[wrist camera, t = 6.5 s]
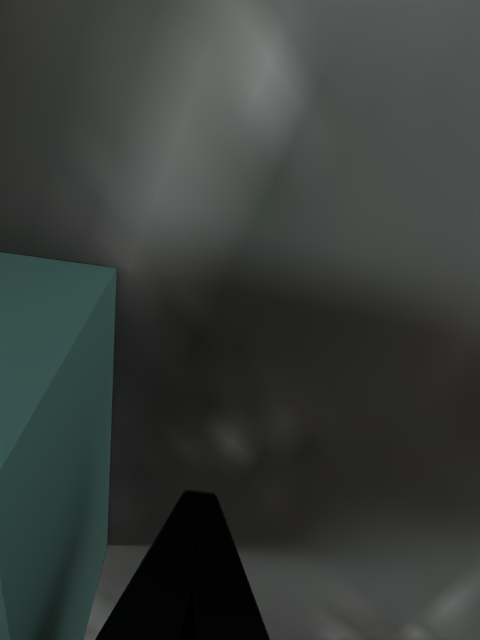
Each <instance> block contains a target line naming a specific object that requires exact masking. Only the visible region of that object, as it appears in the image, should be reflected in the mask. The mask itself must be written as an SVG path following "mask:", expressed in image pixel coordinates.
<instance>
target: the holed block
mask: <svg viewBox="0 0 480 640" xmlns="http://www.w3.org/2000/svg"><path fill="white" fill-rule="evenodd" d="M116 276H117V268H112V267H105V266H97V265H90V264H83V263H76V262H68V261H61V260H54V259H47V258H39V257H32V256H25V255H17V254H10V253H3V252H0V640H84V636H85V632H86V628H87V624H88V620H89V616H90V612H91V608H92V604H93V600H94V596H95V592H96V588H97V584H98V581H99V577H100V573H101V569H102V565H103V561H104V557H105V553H106V549H107V538H108V509H109V480H110V451H111V422H112V392H113V363H114V334H115V305H116Z"/></svg>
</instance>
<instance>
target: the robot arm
mask: <svg viewBox="0 0 480 640" xmlns="http://www.w3.org/2000/svg"><path fill="white" fill-rule="evenodd" d="M95 640H270V639H269V636H268V633H267V630H266V628H265V625H264V622H263V620H262V617H261V614H260V611H259V609H258V606H257V603H256V601H255V598H254V595H253V593H252V590H251V587H250V584H249V582H248V579H247V576H246V574H245V571H244V568H243V565H242V563H241V560H240V557H239V555H238V552H237V549H236V547H235V544H234V541H233V538H232V536H231V533H230V530H229V528H228V525H227V522H226V519H225V517H224V514H223V511H222V509H221V506H220V503H219V501H218V498H217V496H216V495H215V494H214V493H210V492H201V491H193V490H186V491H184V492H183V493H182V495H181V497H180V498H179V500H178V502H177V503H176V505H175V507H174V508H173V510H172V512H171V513H170V515H169V517H168V518H167V520H166V522H165V523H164V525H163V527H162V528H161V530H160V532H159V534H158V535H157V537H156V539H155V540H154V542H153V544H152V545H151V547H150V549H149V550H148V552H147V554H146V555H145V557H144V559H143V560H142V562H141V564H140V565H139V567H138V569H137V570H136V572H135V574H134V575H133V577H132V579H131V580H130V582H129V584H128V585H127V587H126V589H125V590H124V592H123V594H122V595H121V597H120V599H119V601H118V602H117V604H116V606H115V607H114V609H113V611H112V612H111V614H110V616H109V617H108V619H107V621H106V622H105V624H104V626H103V627H102V629H101V631H100V632H99V634H98V636H97V637H96V639H95Z"/></svg>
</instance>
